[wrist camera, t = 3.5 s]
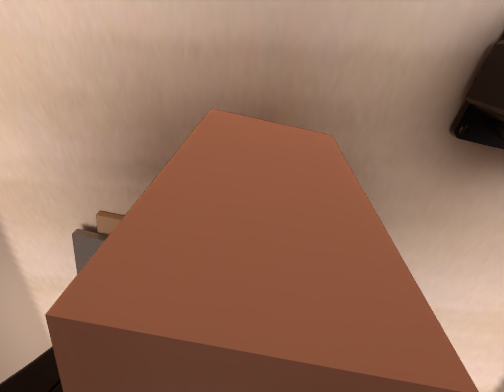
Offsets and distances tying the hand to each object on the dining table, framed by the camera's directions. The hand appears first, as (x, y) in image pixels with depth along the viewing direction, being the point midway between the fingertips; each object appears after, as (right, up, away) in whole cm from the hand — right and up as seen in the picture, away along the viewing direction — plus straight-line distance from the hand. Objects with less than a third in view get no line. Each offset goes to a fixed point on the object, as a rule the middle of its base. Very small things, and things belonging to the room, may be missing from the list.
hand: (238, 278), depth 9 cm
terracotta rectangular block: (0, +1, +2) cm, 2 cm away
